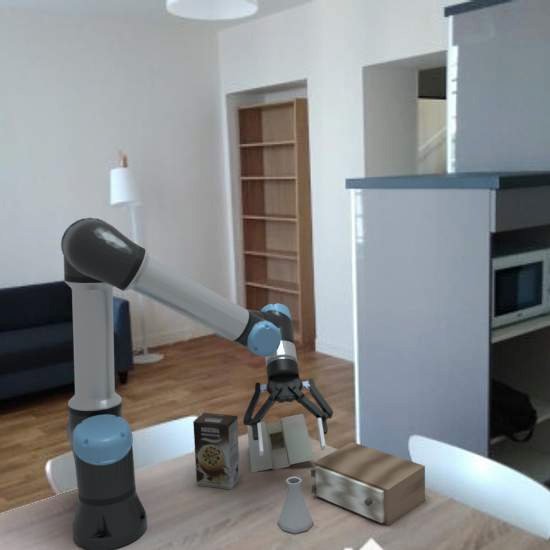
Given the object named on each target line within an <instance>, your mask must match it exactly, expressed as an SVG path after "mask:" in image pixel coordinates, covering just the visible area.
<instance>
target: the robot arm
mask: <svg viewBox="0 0 550 550" xmlns="http://www.w3.org/2000/svg"><path fill="white" fill-rule="evenodd" d="M60 241H61V242H60V244H61V245H60V248H61V252H62V255H63V273H64V275H63V277H64V283H65V284H67V286H68V287H70V288H71V295H72V296H71V297H72V298H71V300H72V301H71V302H72V303H71V304H72V330H73V331H72V335H73V362H74V363H73V367H74V368H73V370H74V371H73V372H74V395H73V396H72V397H71V398H70V399H69V400H68V404H67V405H68V420H67V425H66V434H67V439H68V441H69V444H70V448H71V451H72V456H73V459H74V466H75V474H76V486H77V495H78V502H77V506H76V511H75V515H74V518H73V523H72V537H73V539H72V540H73V541H74V543H75V544H76V545H77V546H79V547H81V548H82V549H86V550H115V549H119V548H123V547H125V546H127V545H130V544H131V543H133V542H135V541H137V540H138V539H139V538H140V537H142V536H143V535H144V533H145V532H146V530H147V527H148V517H147V512H146V509H145V507H144V505H143V503H142V501H141V498H140V497H139V494H138V492H137V487H136V474H135V472H136V471H135V459H134V450H133V441H134V440H133V433H132V432H133V431H132V430H131V426H130V424H129V422H128V420H127V419H125V418H124V417H123V403H122V402H123V401H122V400H123V399H122V397H121V396H120V395H119V394H118V393H117V392H116V390H115V389H116V388H115V387H116V386H115V385H116V383H115V347H114V346H115V342H114V341H115V337H114V297H113V294H114V293H113V290H114V289H113V288H114V287H115V288H117V289H119V290H120V291H123V292H125V291H128V290H132V291H134V292H136V293H138V294H140V295H141V296H143V297H144V298H148V299H150V300H152V301H153V302H154V303H157V304H159V305H161V306H163V307H165V308H167V309H169V310H170V311H173V312H174V313H177V314H179V315H181V316H182V317H185V318H187V319H189V320H191V321H193V322H194V323H196V324H199V325H200V326H202V327H205V328H206V329H208V330H210V331H212V332H214V333H215V335H216V336H217V337H219V338H222V339H223V338H224V339H226V340H230V341H232V342H233V343H235V344H237V345H239V346H240V347H243V348H245V349H246V350H249V351H250V352H251V353H252V354H254V355H257V356H260V357H264V358H265V365H266V368H265V370H266V377H267V384H261V383H260V382H255V384H254V393H253V395H252V398H251V400H250V401H249V404H248V407H247V408H246V411H245V414H244V415H243V416H244V417H243V425H244V426H247V425H250V426H251V427H252V433H253V439H254V440H258V443H259V454H260V456H263V442H262V431H261V423H259V422H262V420H263V418H265V416H266V414H268V411H269V410H270V409H271V408H272V406H274V404H275V403H276V402H278V403H279V404H282V403H286V402H287V403H292V402H294V401H296V402H297V403H298V404H300V405H301V406H303V407H304V408H305V409H306V410H307V411H308V412H309V413H310V414H312V415H313V416H314V417H315V418H316V419H317V421H316V426H317V427H316V428H317V433H318V440H319V446H320V447H319V449H320V451H325V449H326V440H325V435H327V434H328V432H329V431H328V430H329V429H328V422H327V420H328V419H332V418H333V415H334V411H333V408H332V407H331V406H330V405H329V403H328V402H327V400H326V399H325V398H324V396H323V395H322V393H321V392H320V391H319V389H318V388H317V387H316V384H315V379H313V378H309V379H308V380H306V381H302V379H301V378H300V377H301V376H300V373H299V372H300V370H299V363H298V358H297V350H296V345H295V343H296V342H295V337H294V329H293V328H294V327H293V324H294V323H293V321H292V320H293V319H292V316H291V312H290V309H289V308H288V307H287V305H285V304H283V303H275V304H272V303H269V304H267V305H265V306H264V307H262V308H261V309H260V310H254V309H248V308H247V309H246V308H244V307H242V306H240V305H239V304H238V303H235V302H233V301H232V300H230V299H228V298H226V297H224V296H222V295H220V294H218V293H216V292H215V291H213V290H211V289H209V288H207V287H206V286H203V285H202V284H200V283H199V282H196V281H195V280H193V279H191V278H189V277H187V276H185V275H184V274H181V273H180V272H178V271H176V270H174V269H173V268H171V267H169V266H167V265H165V264H164V263H161V262H160V261H157V260H155V259H154V258H153V257H150V256H149V254H148V250H147V249H146V248H145V247H143V246H140V245H139V244H137V243H135V242H134V241H133V240H131V239H130V238H128V237H127V236H125V235H124V234H123V233H122V232H120V230H118V229H117V228H115V227H114V226H113V225H112V224H110V223H107V222H106V221H105V220H103V219H100V218H96V217H95V218H94V217H83V218H80V219H78V220H75V221H73V222H72V223H71V224H69V225H68V226H67V228H65V231H64V232H63V234H62V237H61V240H60ZM303 388H304V389H305V390H306V391H308V392H309V394H310V395H311V397H312V398H313V399H314V401H315V402H316V404H317V405H316V404H315V403H314V402H313V401H312V400H311V399H309V398H308V397H307V396H306V395H305V393H303V392H302V390H303ZM265 391H266V392H267V393H268V395H269V396H268V397H267V398H266V400H265V402H264V403H263V405H262V406H261V407H260V409H258V411H257V412H256V414H255V415H254V412H255V409H256V408H257V405H258V403H259V400H260V399H261V398H260V397H261V395H264V393H265ZM253 415H254V416H253ZM252 417H253V418H252Z"/></svg>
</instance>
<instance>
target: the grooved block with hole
mask: <svg viewBox="0 0 550 550" xmlns="http://www.w3.org/2000/svg"><path fill="white" fill-rule="evenodd" d="M280 419H281V420H279V421H275V422H268V423H266V421H265V420H263V421H262V420H261V421H260V422H259V423H261V431H262V442H263V456H260V454H259V443H258V440H254V439H253V433H252V427H251V426H250V425H246V429H247V438H248V440H247V442H248V450H249V451H248V452H249V461H250V462H249V463H250V472H253V473H258V472H262V471H266V470H270V469H272V470H279V469H284V468H288V467H291V465H294V464H295V465H296V464H300V463H304V462H309V461H315V455H314V452H313V447H312V444H311V439H310V436H309V431H308V427H307V423H306V420H305V415H304V413H300V414H294V415H290V416H284V417H281V418H280Z"/></svg>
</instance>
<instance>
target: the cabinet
mask: <svg viewBox="0 0 550 550" xmlns="http://www.w3.org/2000/svg"><path fill="white" fill-rule="evenodd" d="M313 466H314V467H313V468H311V469H310V477H311V478H314V485H311V494H313V495H315V496H317V497H319V498H321V499H323V500H326V501H328V502H330V503H333V504H335V505H338V506H339V507H342V508H345V509H347V510H348V511H352V512H354V513H357V514H358V515H361V516H364V517H366V518H368V519H371V520H373V521H375V522H378V523H380V524H382V525H386V526H388V527H389V526H391V525H392V524H394V522H396V521H397V520H399V519H400V518H402V517H403V516H405V515H406V514H407V513H409V512H410V511H412V510H413V509H414V508H416V507H417V506H418V505H420V504H422V503H423V502H424V501H426V465H423V464H420V463H417V462H414V461H411V460H408V459H405V458H402V457H399V456H396V455H393V454H390V453H387V452H384V451H382V450H381V451H380V450H378V449H375V448H371V447H369V446H366V445H363V444H360V443H357V442H353V441H352V442H349V443H348V444H346V445H344V446H342V447H339V448H338V449H336V450H335V451H332V452H331V453H329V454H327V455H325V456H323V457H321V458H318V459H317V460H316V461H315V460H314V462H313Z"/></svg>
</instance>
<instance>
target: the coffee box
mask: <svg viewBox="0 0 550 550" xmlns="http://www.w3.org/2000/svg"><path fill="white" fill-rule="evenodd" d="M238 419H239V417H238V415H232V414H221V413H211V412H203V413H202V414H201V415H199V416H198V417H196V418H195V419H194V420H193V421H192V423H193V424H192V425H193V439H194V456H195V457H194V458H195V475H196V478H195V479H196V486H202V487H209V488H216V489H225V490H232V489H233V487H234V486H235V485H236V484H237V483H238V481H239V480H240V479H241V477H240V476H241V474H240V473H241V472H240V471H241V470H240V452H239V449H240V448H239V427H238V425H239V422H238Z"/></svg>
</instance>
